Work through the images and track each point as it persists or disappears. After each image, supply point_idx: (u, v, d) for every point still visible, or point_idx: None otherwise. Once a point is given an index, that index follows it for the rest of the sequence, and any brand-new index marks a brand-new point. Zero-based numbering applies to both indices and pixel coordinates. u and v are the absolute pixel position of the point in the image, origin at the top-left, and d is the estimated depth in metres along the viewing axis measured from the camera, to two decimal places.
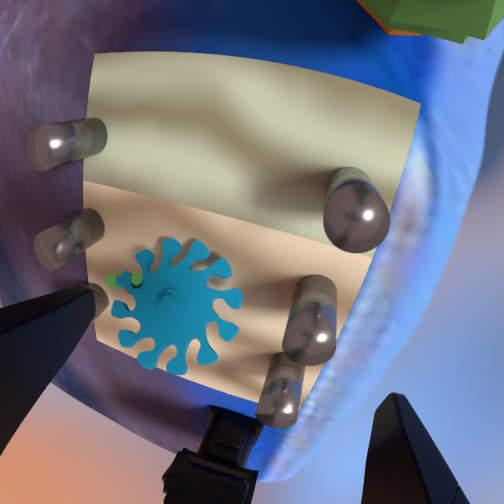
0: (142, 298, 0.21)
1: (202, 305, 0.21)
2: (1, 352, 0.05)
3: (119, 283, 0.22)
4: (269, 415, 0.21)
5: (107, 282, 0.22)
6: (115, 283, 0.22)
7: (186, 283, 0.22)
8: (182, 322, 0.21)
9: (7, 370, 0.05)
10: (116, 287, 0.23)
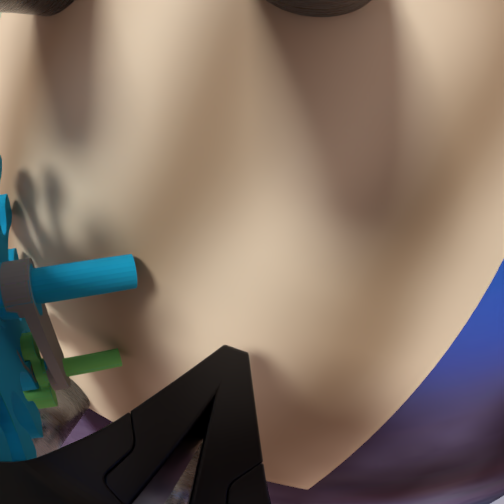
0: None
1: None
2: (173, 458, 0.04)
3: None
4: None
5: None
6: (25, 394, 0.09)
7: None
8: None
9: (171, 470, 0.05)
10: (40, 399, 0.09)
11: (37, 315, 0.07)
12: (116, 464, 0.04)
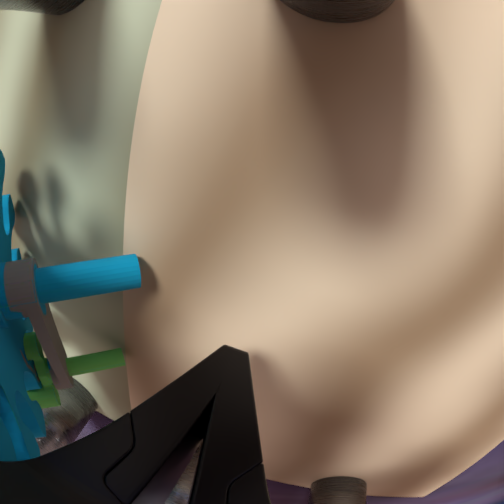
0: None
1: None
2: (173, 458, 0.04)
3: None
4: None
5: None
6: (28, 394, 0.09)
7: None
8: None
9: (171, 470, 0.05)
10: (43, 399, 0.09)
11: (41, 314, 0.07)
12: (116, 464, 0.04)
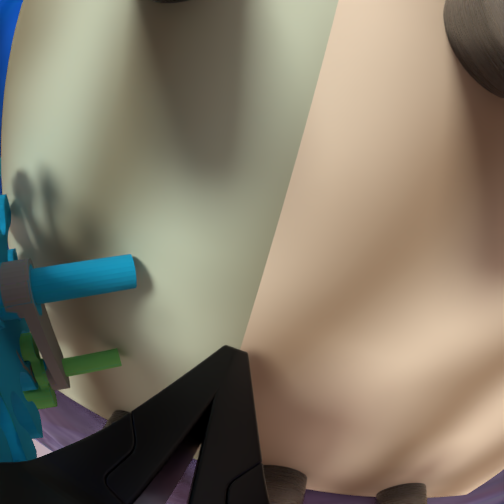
0: None
1: None
2: (174, 458, 0.04)
3: None
4: None
5: None
6: (25, 395, 0.09)
7: None
8: None
9: (172, 470, 0.05)
10: (39, 400, 0.09)
11: (37, 315, 0.07)
12: (117, 464, 0.04)
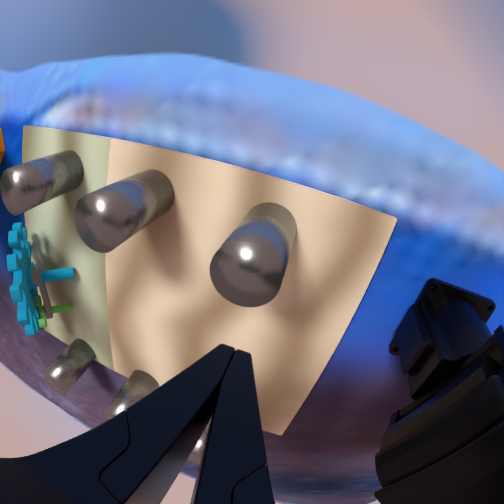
0: None
1: None
2: (169, 456, 0.04)
3: None
4: (242, 286, 0.14)
5: None
6: None
7: None
8: None
9: (167, 468, 0.05)
10: (40, 323, 0.24)
11: (42, 285, 0.22)
12: (111, 461, 0.04)
